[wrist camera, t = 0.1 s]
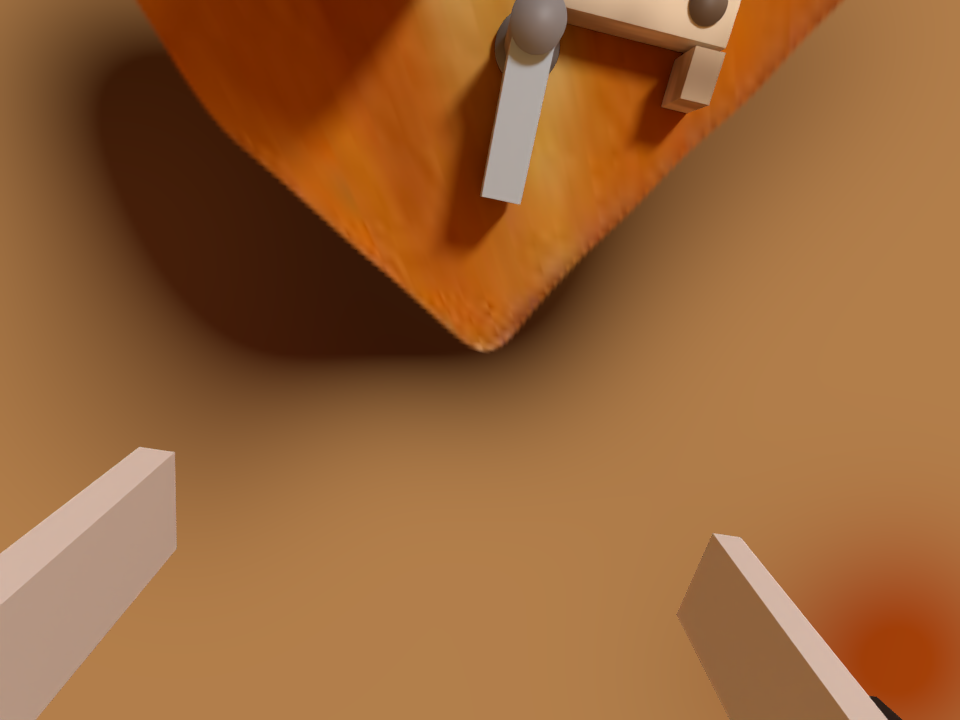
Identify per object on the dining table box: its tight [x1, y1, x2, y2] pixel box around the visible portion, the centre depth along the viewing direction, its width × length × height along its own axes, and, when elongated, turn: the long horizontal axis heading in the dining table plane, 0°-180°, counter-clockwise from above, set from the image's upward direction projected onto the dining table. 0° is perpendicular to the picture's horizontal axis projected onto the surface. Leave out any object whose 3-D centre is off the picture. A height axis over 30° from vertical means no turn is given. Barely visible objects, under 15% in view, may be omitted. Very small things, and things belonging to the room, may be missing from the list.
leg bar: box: [480, 0, 567, 204], centre depth 30 cm, size 12×3×5 cm, turn 169°
